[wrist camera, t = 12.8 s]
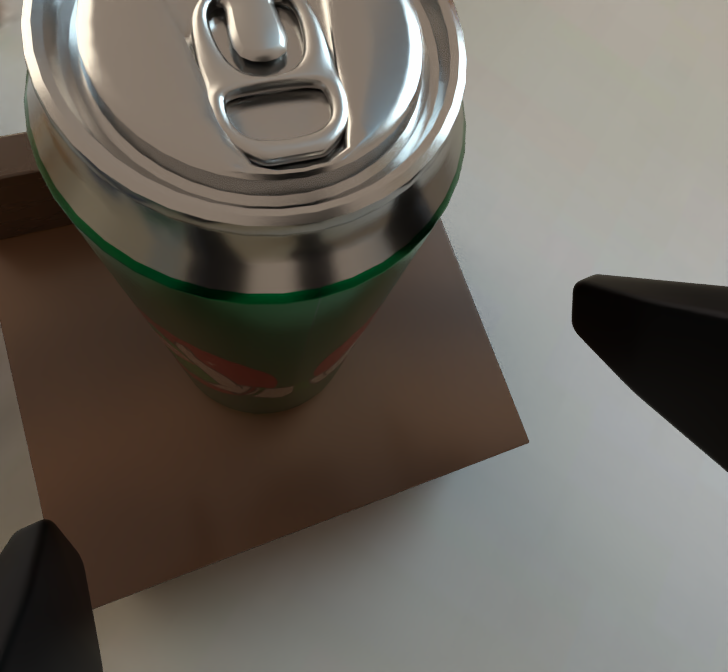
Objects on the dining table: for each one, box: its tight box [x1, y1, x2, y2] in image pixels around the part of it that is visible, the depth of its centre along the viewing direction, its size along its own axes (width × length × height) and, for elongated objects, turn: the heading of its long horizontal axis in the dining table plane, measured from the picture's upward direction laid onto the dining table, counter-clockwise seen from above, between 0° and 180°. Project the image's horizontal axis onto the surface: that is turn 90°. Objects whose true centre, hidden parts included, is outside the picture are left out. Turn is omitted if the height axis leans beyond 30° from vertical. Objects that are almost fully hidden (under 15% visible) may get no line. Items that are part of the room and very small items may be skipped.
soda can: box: [21, 0, 466, 414], centre depth 11 cm, size 5×5×12 cm
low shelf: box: [0, 132, 529, 609], centre depth 18 cm, size 12×14×8 cm
